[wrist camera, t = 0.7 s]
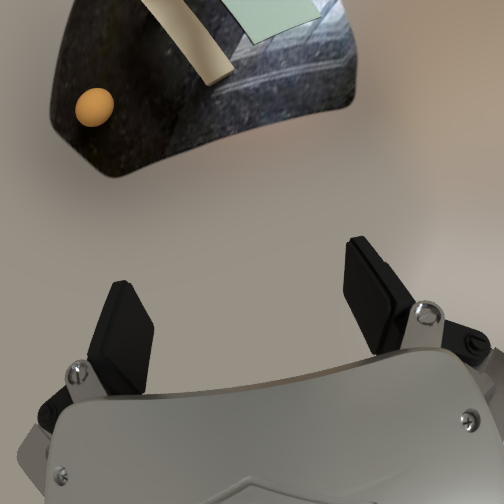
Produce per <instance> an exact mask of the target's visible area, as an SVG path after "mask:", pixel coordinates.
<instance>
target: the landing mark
mask: <svg viewBox="0 0 504 504" xmlns="http://www.w3.org/2000/svg"><path fill="white" fill-rule="evenodd" d="M222 2H223V3H224V4H225V5H226V7H227V8H228V9H229V11H230V12H231V13H232V14H233V16H234V17H235V18H236V20H237V21H238V22H239V24H240V25H241V26H242V28H243V29H244V30H245V32H246V33H247V35H248V36H249V37H250V39H251V40H252V42H253V43H254V44H256V43H259V42H261V41H263V40H265V39H267V38H269V37H271V36H274V35H276V34H278V33H280V32H283V31H285V30H287V29H290V28H292V27H295V26H297V25H300V24H302V23H305V22H308V21H310V20H313V19H316V18H319V17H322V15H321V14H320V12H319V11H318V9H317V8H316V6H315V5H314V3H313V2H312V1H311V0H222Z"/></svg>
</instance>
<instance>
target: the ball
mask: <svg viewBox="0 0 504 504" xmlns="http://www.w3.org/2000/svg"><path fill="white" fill-rule="evenodd" d="M113 107H114V102H113V98H112V96H111V94H110V93H109V92H108V91H106V90H104V89H101V88H94V89H90V90H88V91H86V92H85V93H84V94H83V95H82V96H81V97H80V98H79V100H78V102H77V104H76V116H77V119H78V120H79V121H80V123H82V124H83V125H85V126H88V127H95V126H99V125H101V124H103V123H104V122H105V121H106V120H107V119H108V118H109V117H110V115H111V114H112V111H113Z"/></svg>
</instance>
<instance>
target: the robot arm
mask: <svg viewBox="0 0 504 504" xmlns="http://www.w3.org/2000/svg"><path fill="white" fill-rule="evenodd" d="M343 293H344V297H345V299H346V301H347V303H348V305H349V307H350V308H351V311H352V313H353V315H354V317H355V319H356V321H357V323H358V325H359V327H360V329H361V332H362V333H363V336H364V338H365V340H366V342H367V344H368V347H369V349H370V351H371V353H372V354H373V355H375V354H376V356H374V357H371V358H368V359H364V360H361V361H357V362H354V363H350V364H346V365H342V366H338V367H334V368H331V369H327V370H323V371H318V372H314V373H310V374H305V375H301V376H296V377H292V378H286V379H281V380H276V381H270V382H265V383H259V384H253V385H247V386H239V387H232V388H224V389H216V390H206V391H197V392H184V393H171V394H147V395H142V393H144V392H145V389H146V381H147V374H148V366H149V360H150V354H151V347H152V341H153V335H154V325H153V323H152V321H151V319H150V317H149V315H148V314H147V312H146V310H145V308H144V307H143V305H142V303H141V301H140V299H139V297H138V295H137V294H136V292H135V290H134V288H133V286H132V285H131V283H128V282H127V281H126V280H122V281H117V282H114V283H113V284H112V286H111V289H110V291H109V294H108V296H107V299H106V301H105V304H104V307H103V309H102V312H101V315H100V318H99V320H98V323H97V326H96V329H95V332H94V335H93V338H92V340H91V343H90V347H89V350H88V353H87V356H88V358H87V361H86V360H77V361H75V362H74V363H72V364H71V365H70V366H69V368H68V369H67V371H66V374H65V383H66V385H65V386H64V387H63V388H62V389H60V390H59V391H58V392H57V393H56V394H55V395H53V396H52V397H51V398H50V399H49V400H48V401H46V402H45V403H44V404H43V405H42V406H41V407H40V409H39V412H38V423H39V424H38V425H37V424H34V426H33V427H32V429H31V430H30V432H29V433H28V435H27V437H26V438H25V439H24V441H23V443H22V444H21V446H20V447H19V449H18V452H17V461H18V463H19V465H20V466H21V468H22V469H23V470H24V472H25V473H26V475H27V476H28V477H29V479H30V480H31V481H32V482H33V484H34V485H35V486H36V487H37V489H38V490H39V491H40V492H41V493H42V495H43V496H44V497H45V504H504V446H503V443H502V442H503V440H504V353H503V352H502V351H500V350H499V349H497V348H496V347H495V348H494V350H493V349H492V348H491V345H490V342H489V340H488V338H487V336H486V335H485V334H483V333H482V332H480V331H478V330H475V329H471V328H469V327H466V326H463V325H460V324H457V323H454V322H451V321H448V320H445V317H444V312H443V310H442V309H441V308H440V307H439V306H438V305H437V304H435V303H434V302H431V301H425V300H424V301H419V302H417V303H416V301H415V300H414V299H413V297H412V296H411V294H410V293H409V291H408V290H407V289H406V288H405V286H404V285H403V283H402V282H401V281H400V279H399V278H398V276H397V275H396V274H395V272H394V271H393V270H392V268H391V267H390V266H389V264H387V263H386V262H384V261H383V260H382V258H381V257H380V256H379V255H378V253H377V252H376V251H375V249H374V248H373V247H372V246H371V244H370V243H369V242H368V241H367V239H366V238H365V237H364V236H359V237H353V238H350V241H349V242H347V243H346V254H345V271H344V284H343Z"/></svg>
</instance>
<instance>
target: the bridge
mask: <svg viewBox="0 0 504 504" xmlns="http://www.w3.org/2000/svg"><path fill="white" fill-rule="evenodd" d="M141 1H142V2H143V3H144V4H145V5H146V7H147V8H148V9H149V10H150V11H151V13H152V14H153V15H154V16H155V18H156V19H157V20H158V21H159V23H160V24H161V25H162V26H163V28H164V29H165V30H166V31H167V33H168V34H169V35H170V37H171V38H172V39H173V40H174V42H175V43H176V44H177V46H178V47H179V48H180V50H181V51H182V52H183V54H184V55H185V56H186V58H187V59H188V60H189V62H190V63H191V64H192V66H193V67H194V68H195V70H196V71H197V73H198V74H199V75H200V77H201V78H202V79H203V81H204V82H205V84H206V85H207V86H211V85H213V84H215V83H216V82H218V81H220V80H221V79H223V78H225V77H226V76H228V75H230V74H231V73H232V72H233V70H234V67H233V66H232V64H231V63H230V62H229V60H228V59H227V57H226V56H225V55H224V53H223V52H222V50H221V49H220V48H219V46H218V45H217V43H216V42H215V41H214V39H213V38H212V37H211V35H210V34H209V33H208V31H207V30H206V29H205V28H204V26H203V25H202V24H201V22H200V21H199V20H198V19H197V17H196V16H195V15H194V14H193V12H192V11H191V10H190V9H189V7H188V6H187V5H186V4H185V2H184V1H183V0H141Z"/></svg>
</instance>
